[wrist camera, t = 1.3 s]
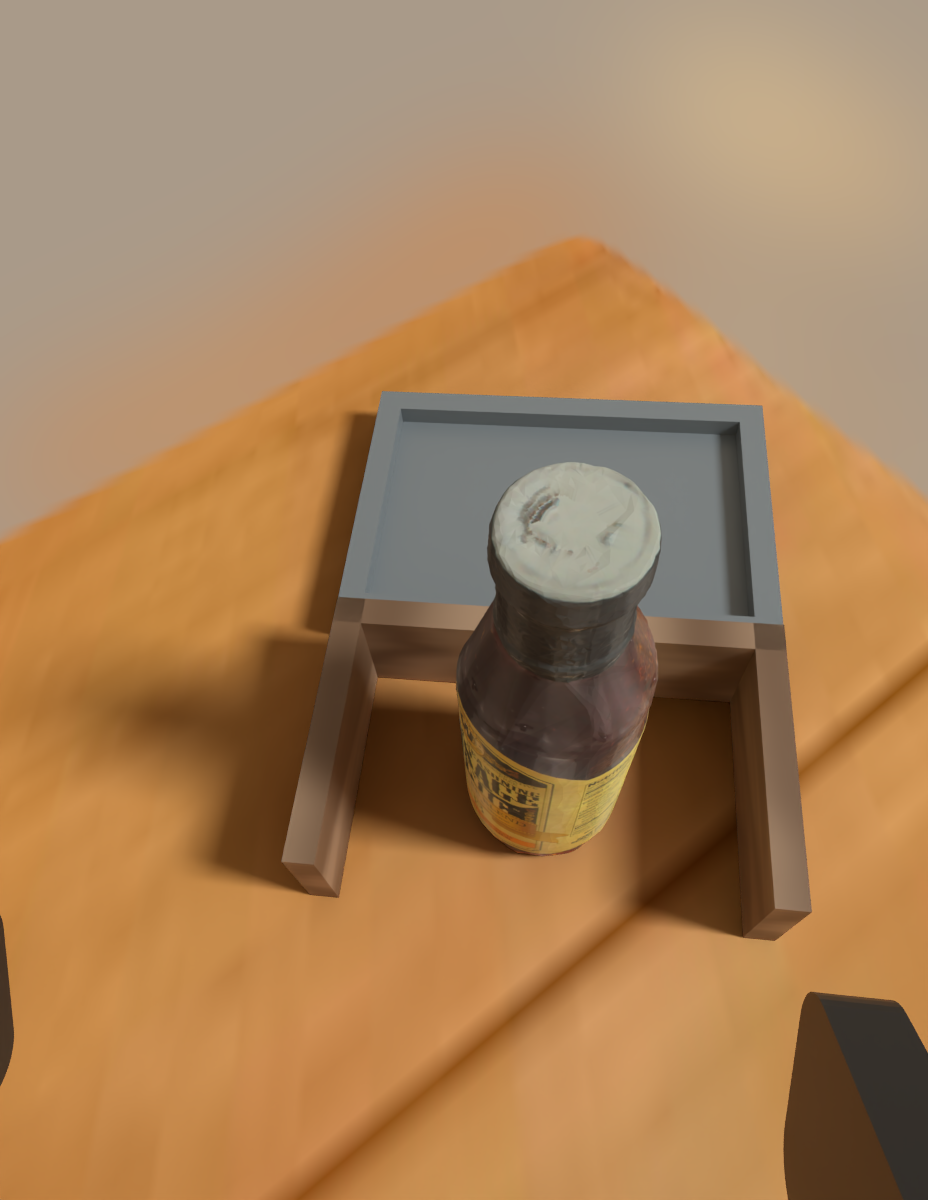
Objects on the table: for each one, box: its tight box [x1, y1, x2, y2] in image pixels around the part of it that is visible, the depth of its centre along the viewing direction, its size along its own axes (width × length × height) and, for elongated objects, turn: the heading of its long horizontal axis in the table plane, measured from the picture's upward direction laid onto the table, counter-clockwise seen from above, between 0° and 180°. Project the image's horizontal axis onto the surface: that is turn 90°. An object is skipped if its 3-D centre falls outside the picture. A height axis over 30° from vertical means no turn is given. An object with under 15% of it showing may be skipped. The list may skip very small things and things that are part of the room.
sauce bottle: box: [456, 462, 662, 856], centre depth 29 cm, size 7×6×20 cm
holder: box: [281, 597, 812, 941], centre depth 35 cm, size 18×11×5 cm, turn 84°
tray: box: [338, 391, 783, 625], centre depth 43 cm, size 20×14×2 cm
